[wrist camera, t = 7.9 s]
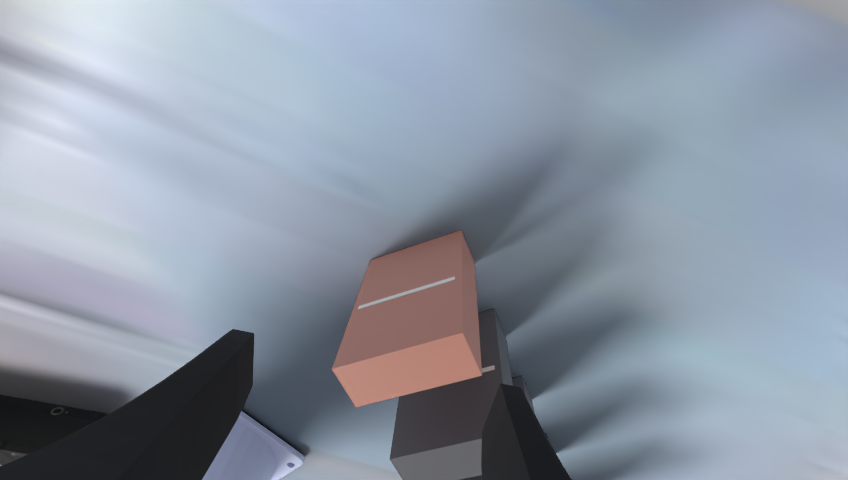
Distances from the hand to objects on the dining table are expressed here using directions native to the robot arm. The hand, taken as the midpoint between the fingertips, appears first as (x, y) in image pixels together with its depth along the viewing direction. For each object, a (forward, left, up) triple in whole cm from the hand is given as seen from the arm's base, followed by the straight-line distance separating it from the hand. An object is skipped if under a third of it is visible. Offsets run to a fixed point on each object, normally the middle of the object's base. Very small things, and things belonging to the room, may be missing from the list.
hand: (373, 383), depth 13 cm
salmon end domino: (-1, -2, -11) cm, 11 cm away
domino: (-3, -7, -11) cm, 13 cm away
